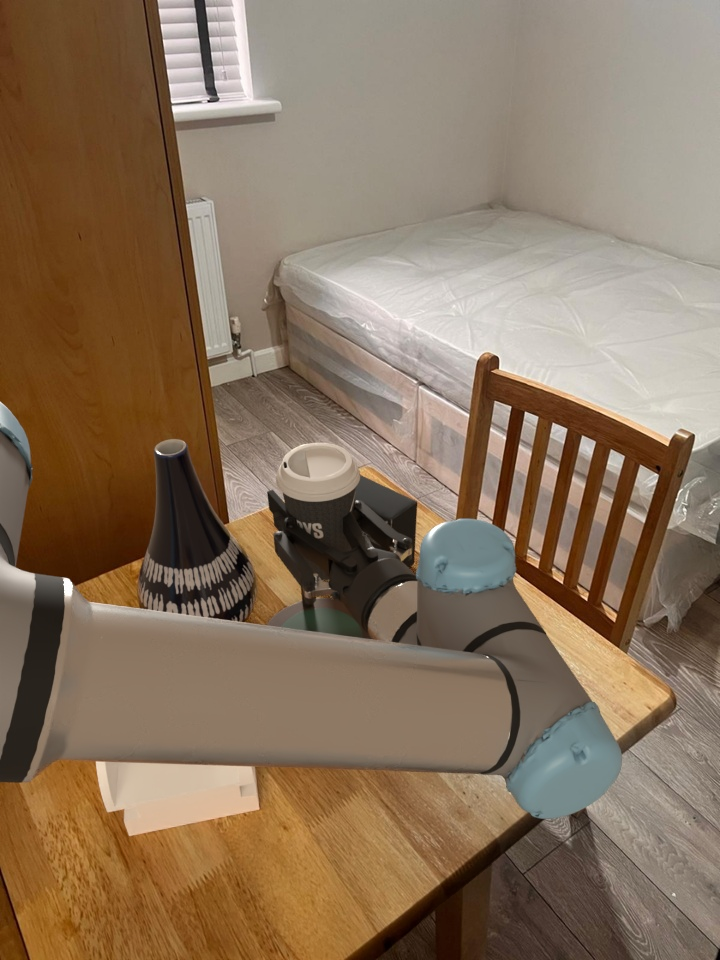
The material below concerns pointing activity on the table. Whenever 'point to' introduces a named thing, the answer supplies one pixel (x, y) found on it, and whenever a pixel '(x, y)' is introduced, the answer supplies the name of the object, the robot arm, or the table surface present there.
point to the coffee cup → (319, 492)
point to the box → (389, 510)
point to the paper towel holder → (319, 618)
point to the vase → (192, 548)
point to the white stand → (175, 793)
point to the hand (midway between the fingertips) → (289, 493)
